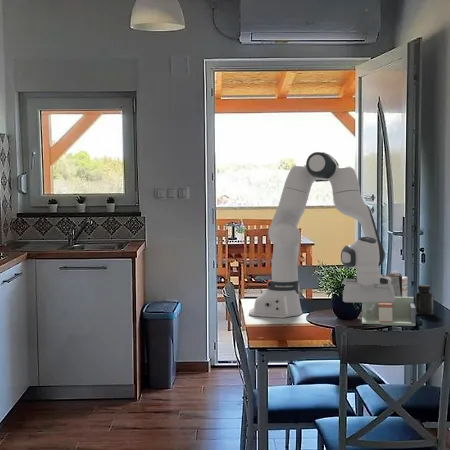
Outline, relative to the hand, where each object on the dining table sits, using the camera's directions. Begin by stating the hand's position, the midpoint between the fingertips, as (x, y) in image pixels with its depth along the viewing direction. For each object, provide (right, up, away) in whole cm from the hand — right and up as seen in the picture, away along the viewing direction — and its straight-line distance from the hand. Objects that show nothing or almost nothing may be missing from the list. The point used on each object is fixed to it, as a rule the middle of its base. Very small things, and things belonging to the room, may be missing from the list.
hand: (368, 313), depth 268 cm
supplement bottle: (+25, -2, +12) cm, 28 cm away
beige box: (+6, -2, -1) cm, 7 cm away
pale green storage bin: (+7, -3, -1) cm, 8 cm away
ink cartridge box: (+21, 0, +36) cm, 42 cm away
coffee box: (+14, -2, +16) cm, 21 cm away
